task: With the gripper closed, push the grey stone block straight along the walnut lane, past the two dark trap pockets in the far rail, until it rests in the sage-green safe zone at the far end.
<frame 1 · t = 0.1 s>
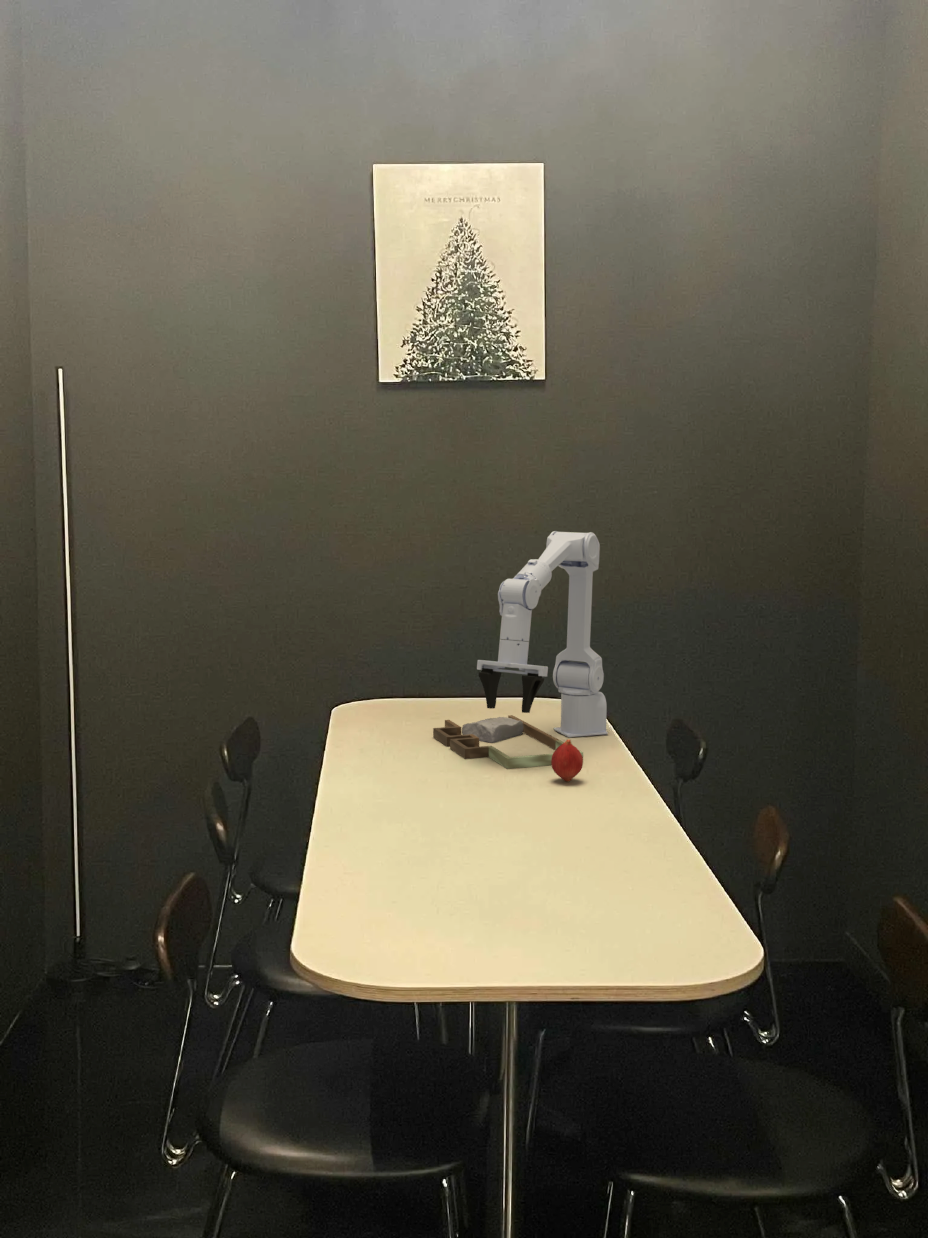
hand: (508, 710, 233), 11 cm above the table, tool pointing down, fingers open, 7 cm apart
lane: (509, 744, 251), on the table
onion: (566, 782, 222), on the table
stone block: (490, 737, 259), on the table
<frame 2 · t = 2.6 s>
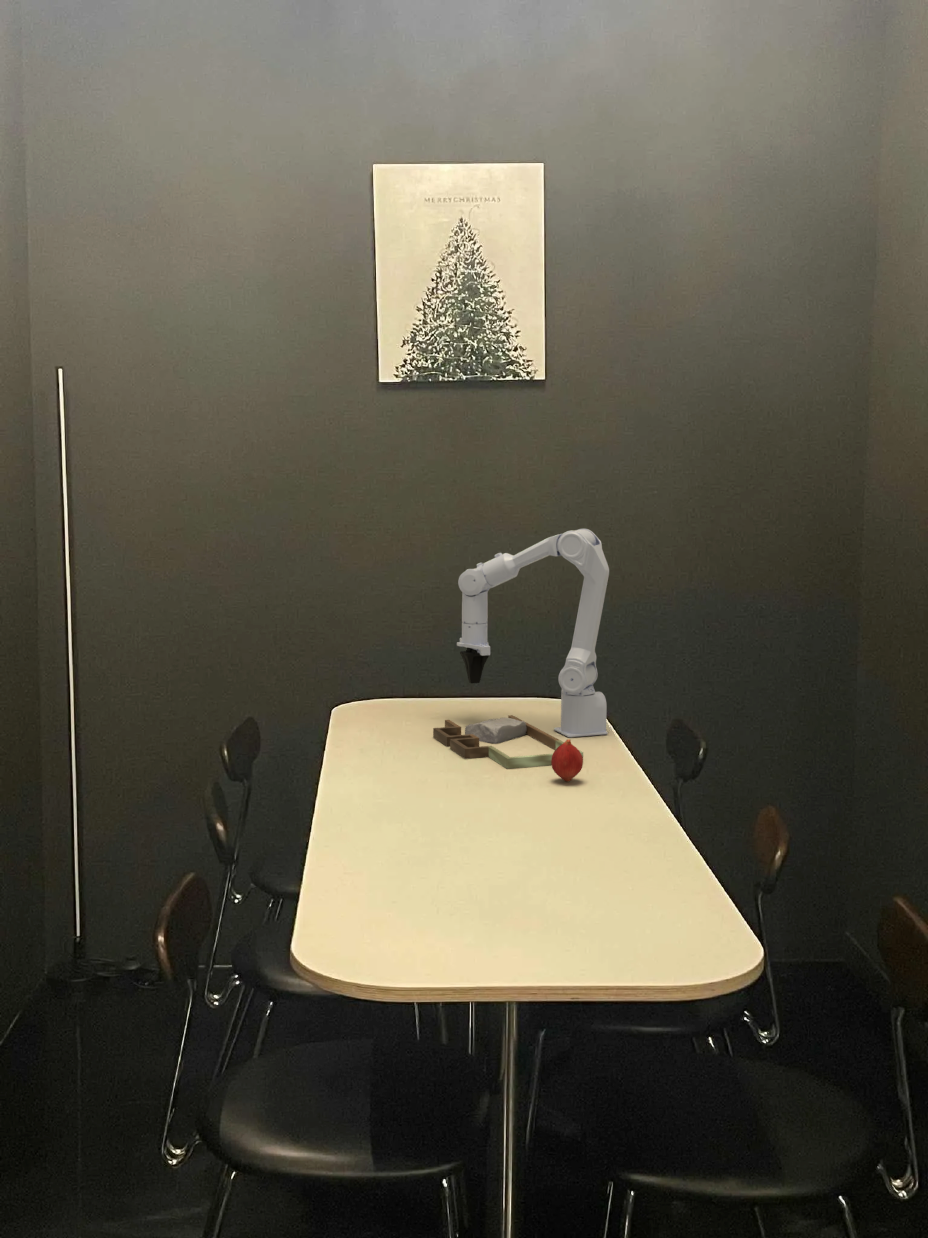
hand: (474, 682, 269), 9 cm above the table, tool pointing down, fingers closed
nothing on the table moved.
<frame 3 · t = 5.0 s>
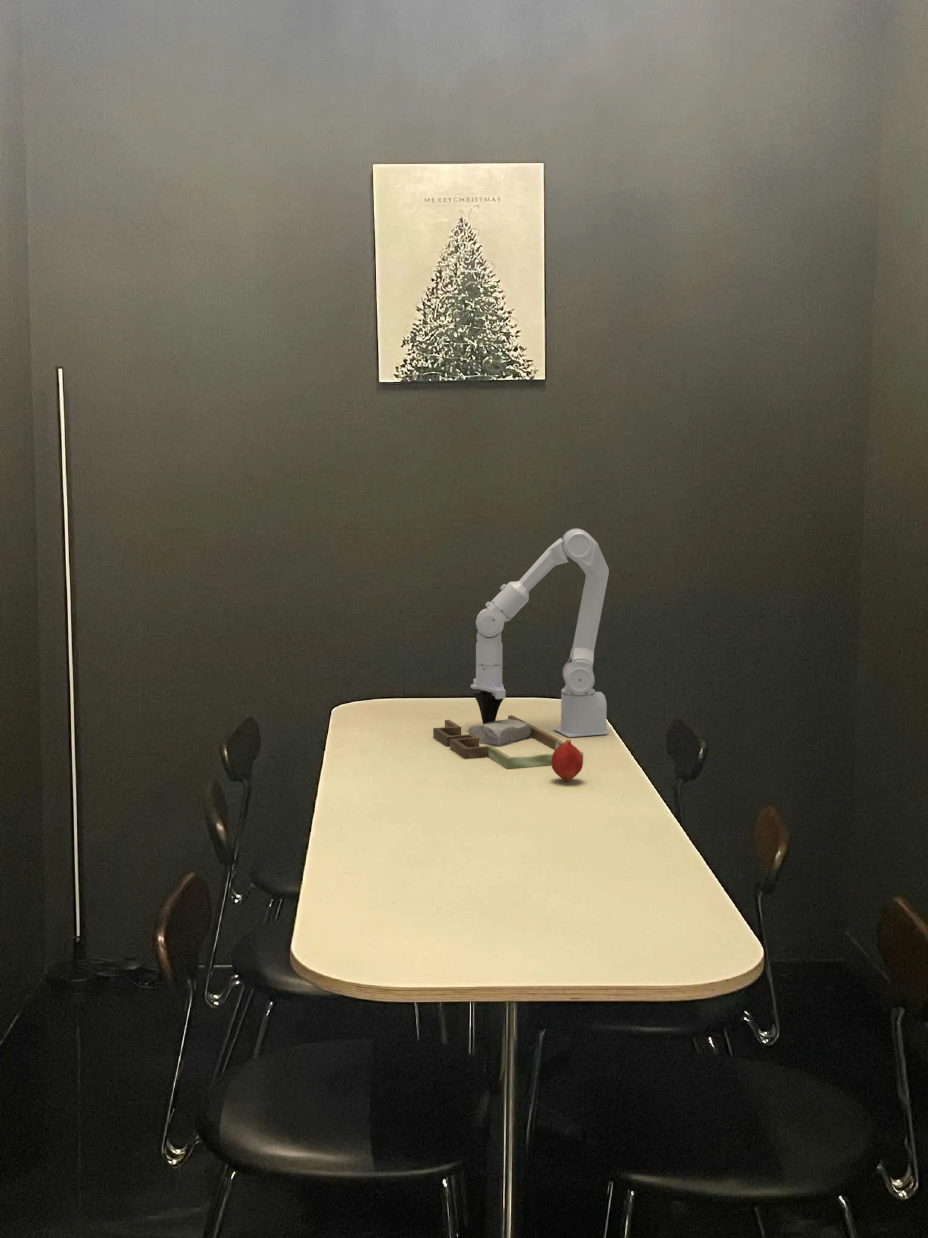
hand: (488, 725, 262), 1 cm above the table, tool pointing down, fingers closed
stone block: (497, 740, 256), on the table
everything else where it was.
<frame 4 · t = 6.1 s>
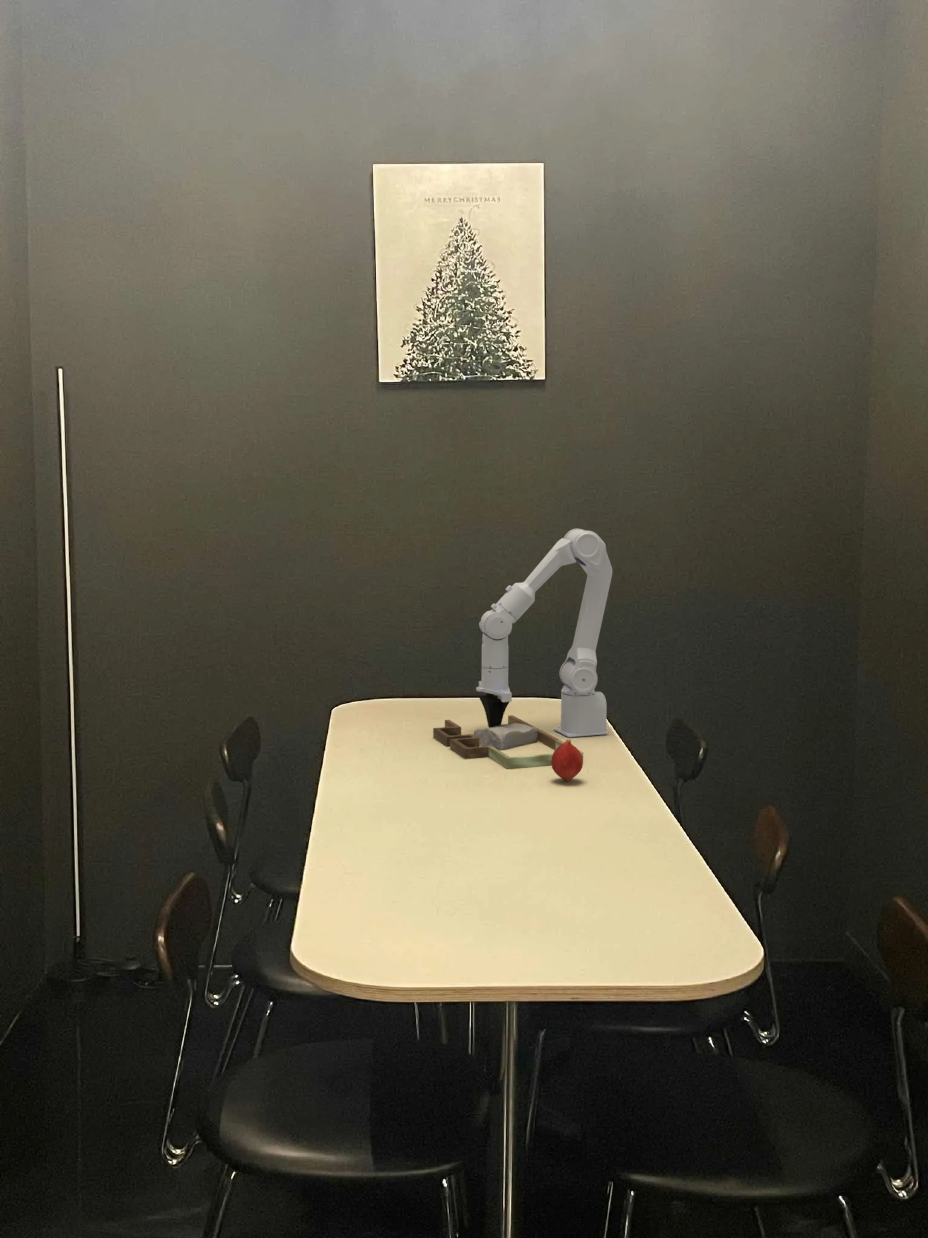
hand: (494, 729, 259), 1 cm above the table, tool pointing down, fingers closed
stone block: (503, 744, 253), on the table
everything else where it was.
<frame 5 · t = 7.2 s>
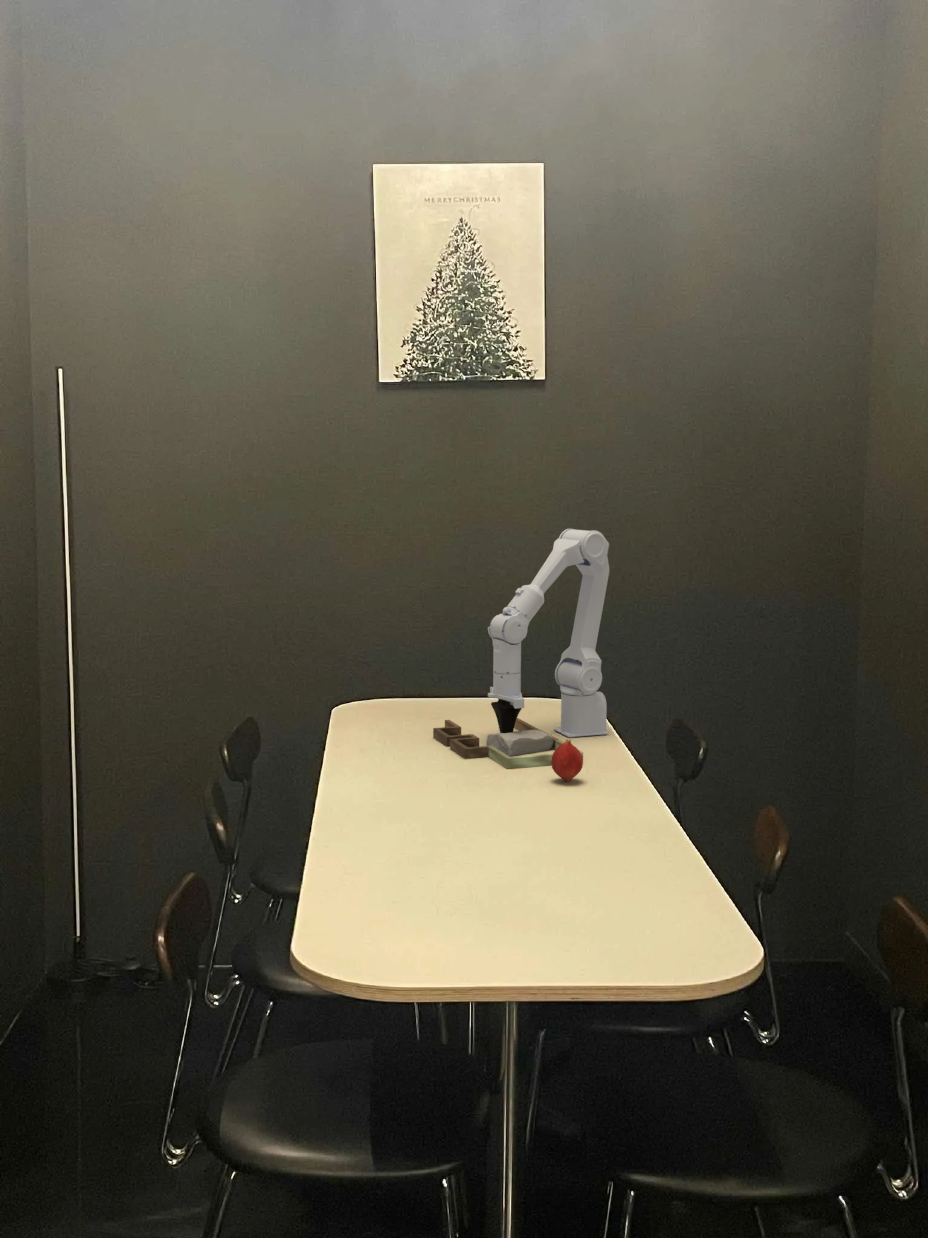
hand: (506, 736, 252), 1 cm above the table, tool pointing down, fingers closed
stone block: (517, 750, 247), on the table, touching gripper
everything else where it was.
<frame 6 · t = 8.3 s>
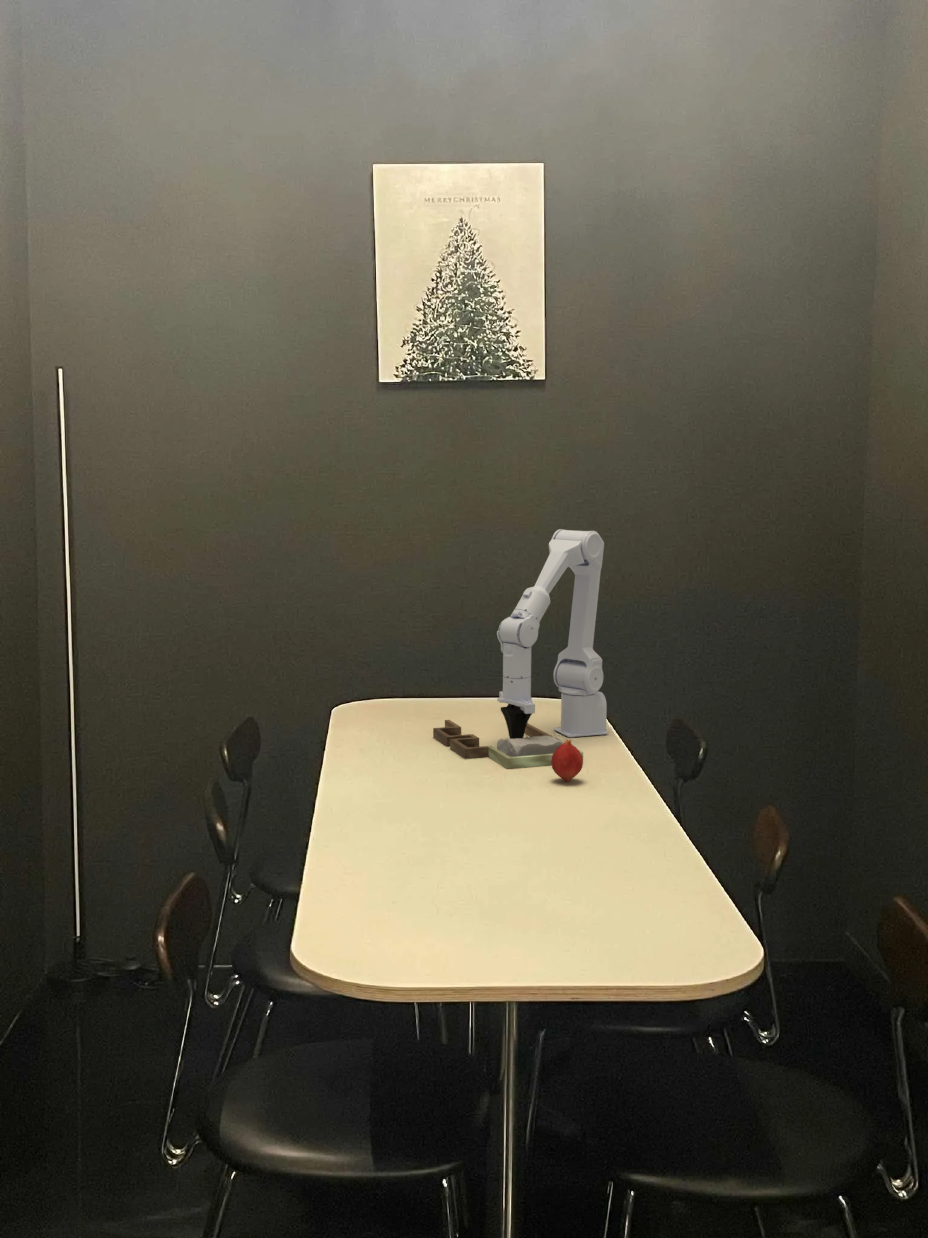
hand: (516, 741, 247), 1 cm above the table, tool pointing down, fingers closed
stone block: (528, 757, 242), on the table, touching gripper
everything else where it was.
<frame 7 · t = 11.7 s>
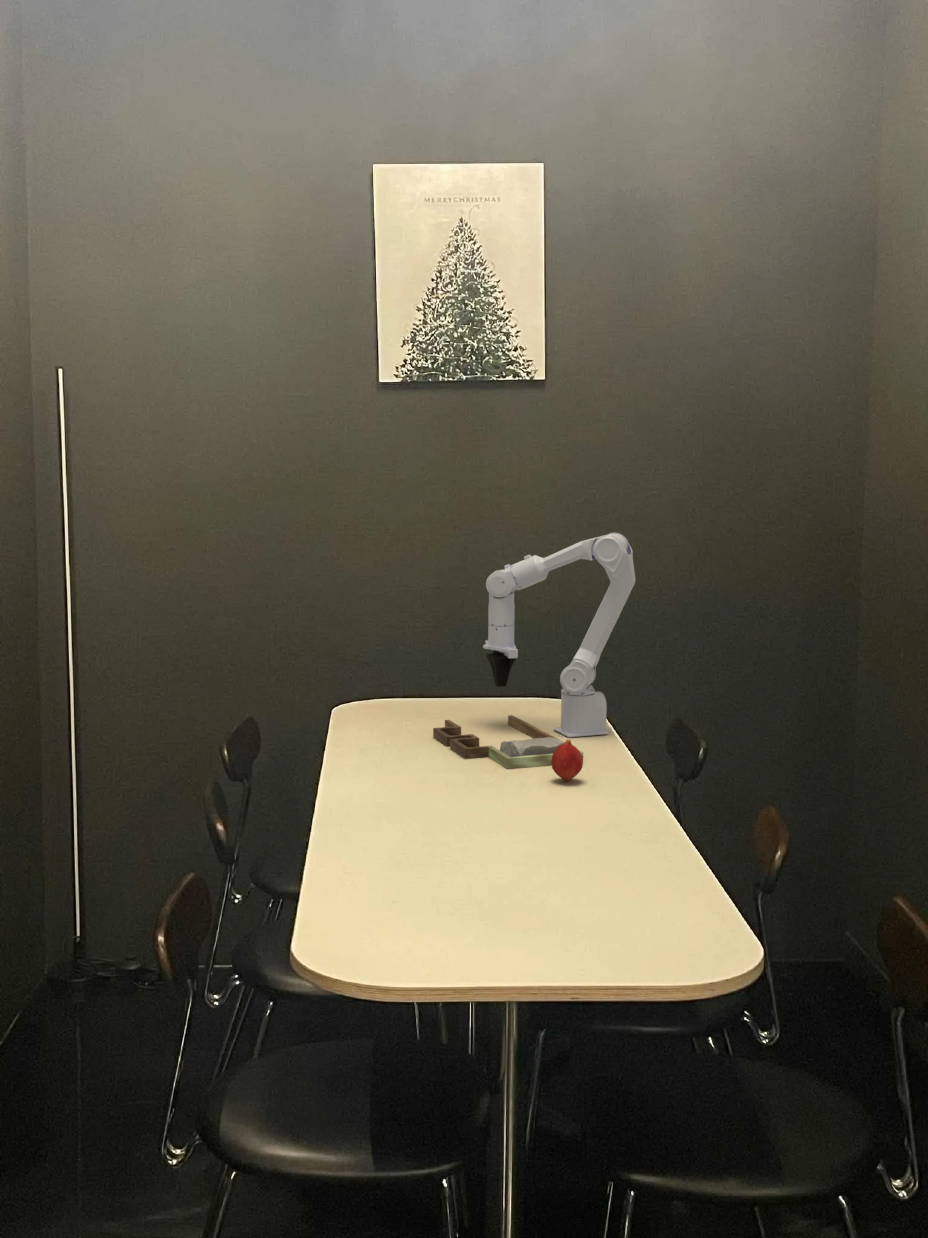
hand: (500, 686, 265), 9 cm above the table, tool pointing down, fingers closed
stone block: (531, 758, 241), on the table
everything else where it was.
at the end: stone block inside the target area (0.7 cm from its centre), on the table; stone block moved 20.2 cm from its start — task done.
